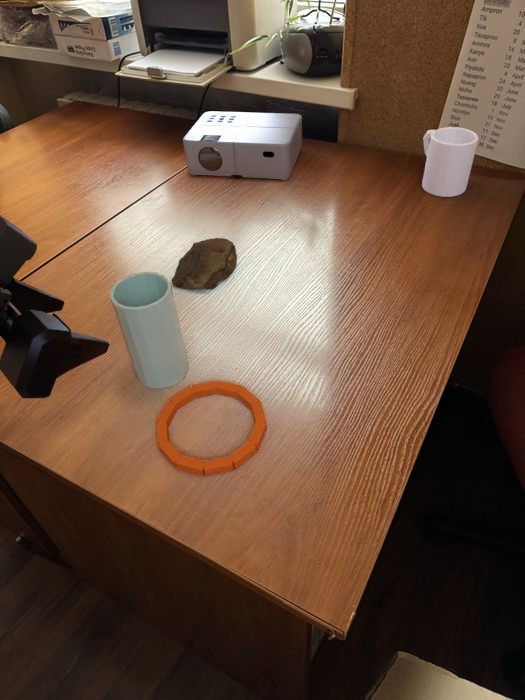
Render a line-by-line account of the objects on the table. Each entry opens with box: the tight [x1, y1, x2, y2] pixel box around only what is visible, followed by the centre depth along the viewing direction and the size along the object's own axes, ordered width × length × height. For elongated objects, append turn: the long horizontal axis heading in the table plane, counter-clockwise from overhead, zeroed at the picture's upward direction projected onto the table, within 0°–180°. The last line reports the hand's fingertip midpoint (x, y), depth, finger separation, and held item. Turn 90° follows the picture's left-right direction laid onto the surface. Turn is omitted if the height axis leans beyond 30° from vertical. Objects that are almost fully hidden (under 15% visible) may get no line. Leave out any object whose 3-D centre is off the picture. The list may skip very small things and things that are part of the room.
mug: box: [421, 126, 479, 198], centre depth 95 cm, size 8×12×10 cm
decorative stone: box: [171, 237, 238, 290], centre depth 79 cm, size 10×9×4 cm
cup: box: [109, 271, 190, 390], centre depth 61 cm, size 7×7×13 cm
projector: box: [182, 111, 303, 181], centre depth 106 cm, size 17×22×8 cm
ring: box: [155, 379, 268, 477], centre depth 58 cm, size 12×12×1 cm
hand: (84, 325), depth 51 cm, fingers open, 9 cm apart
